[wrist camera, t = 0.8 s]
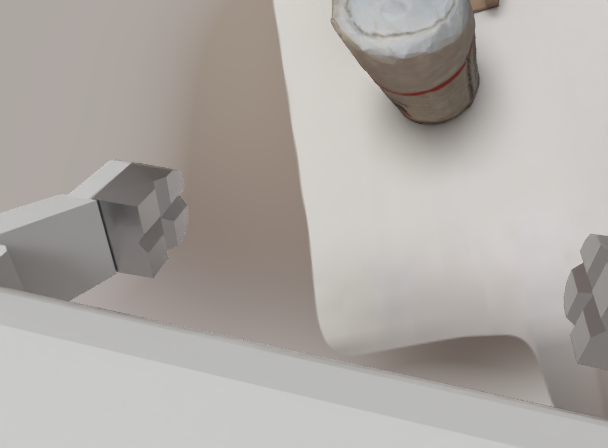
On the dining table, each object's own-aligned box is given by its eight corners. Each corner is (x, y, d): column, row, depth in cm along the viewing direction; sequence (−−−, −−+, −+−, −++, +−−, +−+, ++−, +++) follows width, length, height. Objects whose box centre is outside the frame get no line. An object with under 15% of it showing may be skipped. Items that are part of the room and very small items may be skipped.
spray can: (382, 45, 47) (312, -50, 29) (472, 21, 44) (459, -102, 26) (394, 133, 47) (333, 95, 29) (485, 115, 44) (482, 59, 26)
